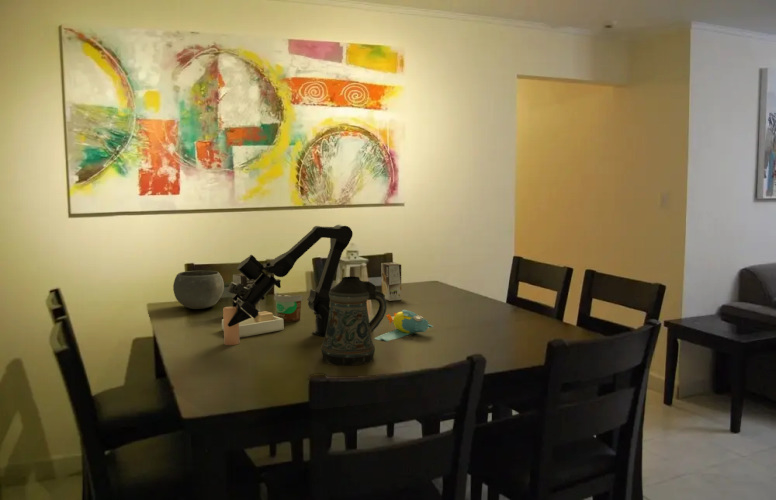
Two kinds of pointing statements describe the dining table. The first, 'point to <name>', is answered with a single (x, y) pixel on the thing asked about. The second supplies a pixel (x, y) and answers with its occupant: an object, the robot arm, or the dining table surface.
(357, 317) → the beer stein
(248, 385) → the dining table surface
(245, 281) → the coffee box
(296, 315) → the food container
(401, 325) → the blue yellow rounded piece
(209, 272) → the bowl
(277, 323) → the tote
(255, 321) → the maple block
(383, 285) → the coffee box
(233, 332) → the tan upright cylinder
